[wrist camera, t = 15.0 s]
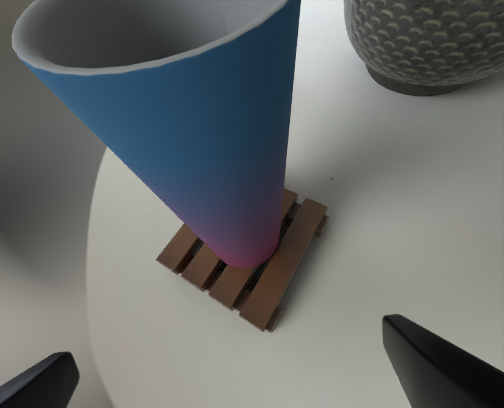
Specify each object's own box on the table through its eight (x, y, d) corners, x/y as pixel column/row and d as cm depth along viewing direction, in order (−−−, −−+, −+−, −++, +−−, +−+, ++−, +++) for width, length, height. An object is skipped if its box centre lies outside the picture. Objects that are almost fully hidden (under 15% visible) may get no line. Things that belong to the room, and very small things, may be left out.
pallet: (269, 336, 17) (267, 334, 15) (163, 265, 20) (151, 257, 19) (328, 219, 21) (331, 208, 19) (229, 176, 24) (225, 163, 23)
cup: (274, 296, 16) (228, 98, 3) (185, 263, 18) (-57, 54, 5) (302, 209, 19) (334, -72, 6) (223, 188, 21) (126, -61, 8)
